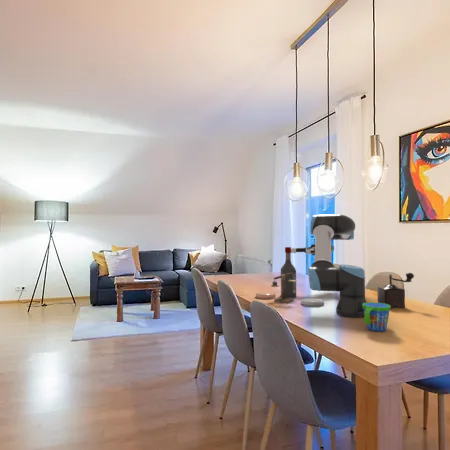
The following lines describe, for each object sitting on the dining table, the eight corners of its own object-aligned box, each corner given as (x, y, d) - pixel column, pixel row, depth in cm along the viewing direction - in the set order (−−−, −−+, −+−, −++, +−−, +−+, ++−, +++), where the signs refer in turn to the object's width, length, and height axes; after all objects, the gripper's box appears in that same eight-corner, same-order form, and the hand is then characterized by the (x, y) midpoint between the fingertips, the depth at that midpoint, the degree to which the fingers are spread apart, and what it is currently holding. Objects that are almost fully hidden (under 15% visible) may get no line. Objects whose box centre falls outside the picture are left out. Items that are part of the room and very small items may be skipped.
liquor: (280, 297, 215) (280, 247, 215) (281, 294, 224) (280, 246, 224) (296, 298, 213) (295, 247, 213) (295, 295, 222) (295, 246, 222)
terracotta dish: (278, 296, 219) (278, 293, 219) (270, 299, 209) (270, 296, 209) (261, 294, 225) (261, 291, 225) (252, 297, 215) (252, 294, 215)
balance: (298, 301, 202) (298, 272, 202) (294, 303, 197) (293, 273, 197) (273, 299, 211) (273, 270, 211) (269, 300, 206) (268, 271, 206)
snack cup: (376, 323, 155) (376, 300, 155) (399, 329, 147) (399, 304, 147) (353, 329, 147) (353, 304, 147) (376, 336, 138) (376, 309, 138)
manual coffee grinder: (385, 308, 184) (385, 273, 185) (376, 303, 196) (376, 270, 196) (416, 308, 184) (415, 273, 185) (405, 303, 195) (404, 270, 196)
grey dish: (326, 303, 197) (326, 299, 197) (319, 307, 187) (319, 303, 187) (305, 301, 204) (305, 297, 204) (297, 305, 194) (297, 301, 194)
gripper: (334, 256, 230) (314, 258, 216) (302, 254, 249) (282, 256, 235) (334, 244, 230) (314, 246, 216) (302, 243, 249) (282, 244, 235)
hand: (297, 251), depth 225 cm, fingers open, 13 cm apart
